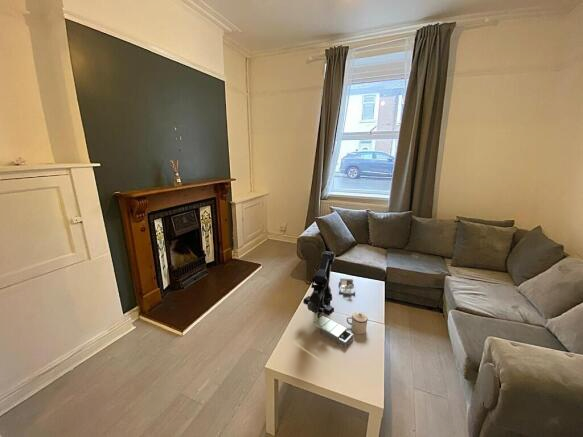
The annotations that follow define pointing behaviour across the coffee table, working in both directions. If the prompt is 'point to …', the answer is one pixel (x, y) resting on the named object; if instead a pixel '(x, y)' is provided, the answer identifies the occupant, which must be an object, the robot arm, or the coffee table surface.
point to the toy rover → (346, 286)
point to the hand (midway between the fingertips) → (317, 317)
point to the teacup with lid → (358, 322)
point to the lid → (329, 325)
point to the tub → (343, 342)
